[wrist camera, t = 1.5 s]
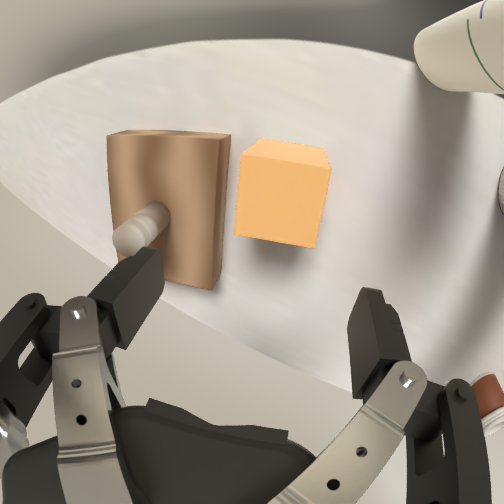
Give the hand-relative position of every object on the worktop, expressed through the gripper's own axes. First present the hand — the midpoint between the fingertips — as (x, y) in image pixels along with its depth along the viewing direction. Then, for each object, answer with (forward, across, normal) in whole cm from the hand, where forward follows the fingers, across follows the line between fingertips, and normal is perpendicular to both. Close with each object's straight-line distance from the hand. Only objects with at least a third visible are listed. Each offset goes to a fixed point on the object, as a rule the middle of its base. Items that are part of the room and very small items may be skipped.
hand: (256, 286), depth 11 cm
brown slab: (+19, +12, +5) cm, 23 cm away
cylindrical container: (+19, -14, -16) cm, 28 cm away
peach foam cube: (+19, 0, +2) cm, 19 cm away
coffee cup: (+19, -47, +30) cm, 59 cm away
